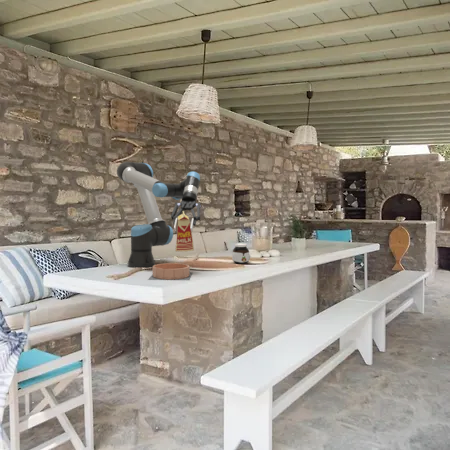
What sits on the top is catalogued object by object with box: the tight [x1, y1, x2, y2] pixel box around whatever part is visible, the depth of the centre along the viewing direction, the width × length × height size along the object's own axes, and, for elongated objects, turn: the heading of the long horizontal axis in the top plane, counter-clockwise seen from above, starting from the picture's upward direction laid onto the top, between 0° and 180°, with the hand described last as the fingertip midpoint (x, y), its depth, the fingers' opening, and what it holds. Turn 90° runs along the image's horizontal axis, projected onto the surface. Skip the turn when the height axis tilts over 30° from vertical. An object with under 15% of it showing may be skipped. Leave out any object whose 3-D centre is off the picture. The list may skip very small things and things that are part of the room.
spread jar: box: [232, 242, 251, 265], centre depth 268 cm, size 12×11×12 cm
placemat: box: [147, 272, 193, 281], centre depth 220 cm, size 20×20×1 cm
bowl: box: [152, 262, 191, 281], centre depth 220 cm, size 18×18×5 cm
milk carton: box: [175, 211, 195, 253], centre depth 225 cm, size 9×9×20 cm
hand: (183, 229), depth 221 cm, fingers closed on milk carton, 8 cm apart
